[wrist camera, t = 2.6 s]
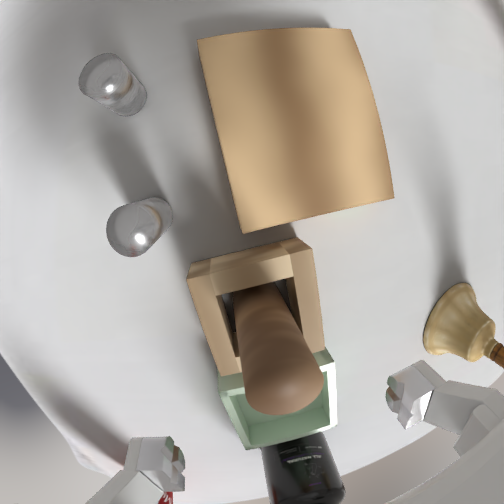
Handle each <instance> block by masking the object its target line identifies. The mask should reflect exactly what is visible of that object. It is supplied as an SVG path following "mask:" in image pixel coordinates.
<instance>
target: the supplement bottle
mask: <svg viewBox="0 0 504 504" xmlns="http://www.w3.org/2000/svg"><path fill="white" fill-rule="evenodd" d="M261 452H262V459H263V465H264V471H265V477H266V483H267V489H268V494H269V499H270V504H341V502H342V501H343V500H344V497H345V493H346V491H345V488H344V485H343V482H342V480H341V477H340V475H339V472H338V469H337V467H336V464H335V462H334V459H333V457H332V454H331V451H330V449H329V446H328V444H327V441H326V439H325V436H324V434H323V432H322V431H321V432H318V433H315V434H311V435H308V436H305V437H301V438H298V439H294V440H290V441H286V442H282V443H278V444H274V445H270V446H265V447H261Z"/></svg>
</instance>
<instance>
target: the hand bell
mask: <svg viewBox="0 0 504 504" xmlns="http://www.w3.org/2000/svg"><path fill="white" fill-rule="evenodd" d="M494 335H495V323H494V321H493V320H492V319H490V318H489V317H488V316H487V315H486V314H485V313H484V312H483V311H482V310H481V309H480V307H479V306H478V304H477V302H476V296H475V293H474V290H473V289H472V287H471V286H470V285H469V284H467V283H459V284H456V285H454V286H453V287H451V288H450V289H449V290H448V291H447V292H445V294H444V295H443V296H442V297H441V298H440V299H439V301H438V302H437V304H436V305H435V307H434V309H433V310H432V312H431V314H430V316H429V318H428V321H427V324H426V327H425V331H424V337H423V342H424V347H425V349H426V351H427V352H428V353H430V354H433V355H442V354H445V353H452V354H456V355H458V356H460V357H462V358H464V359H466V360H467V361H469V362H475V361H477V360H479V359H480V358H481V357H482V356H483V355H485V356H486V357H487V358H490V359H491V360H492V361H495V363H497V364H498V365H500V366H501V367H502V368H504V347H503V345H502V344H501V343H498V342H497V341H496V340H495V339H494Z"/></svg>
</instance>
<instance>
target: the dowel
mask: <svg viewBox="0 0 504 504" xmlns="http://www.w3.org/2000/svg"><path fill="white" fill-rule="evenodd" d="M233 308H234V316H235V324H236V331H237V339H238V346H239V354H240V361H241V368H242V375H243V382H244V389H245V396H246V400H247V402H248V404H249V405H250V406H251V407H252V408H253V409H255V410H256V411H258V412H261V413H263V414H268V415H284V414H289V413H293V412H296V411H298V410H301V409H303V408H304V407H306V406H308V405H309V404H310V403H312V402H313V401H314V400H315V399H316V398H317V397H318V395H319V394H320V392H321V390H322V388H323V384H324V376H323V373H322V371H321V369H320V367H319V365H318V364H317V362H316V360H315V358H314V356H313V354H312V352H311V350H310V348H309V346H308V345H307V343H306V341H305V339H304V337H303V335H302V333H301V331H300V330H299V328H298V326H297V324H296V322H295V320H294V318H293V316H292V314H291V313H290V311H289V309H288V307H287V305H286V303H285V301H284V299H283V298H282V296H281V294H280V292H279V290H278V288H277V286H276V285H275V284H274V283H273V282H270V283H266V284H262V285H258V286H254V287H250V288H246V289H242V290H238V291H234V293H233Z"/></svg>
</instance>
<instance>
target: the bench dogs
mask: <svg viewBox="0 0 504 504" xmlns="http://www.w3.org/2000/svg"><path fill="white" fill-rule="evenodd" d="M79 87H80V90H81V91H82V92H83V93H84V94H85V95H87V96H89V97H90V98H92V99H94V100H95V101H97V102H99V103H100V104H102V105H104V106H105V107H107V108H109V109H110V110H112V111H114V112H115V113H117V114H119V115H121V116H131V115H134V114H136V113H137V112H139V111H140V110H141V109H142V108H143V106H144V105H145V102H146V99H147V92H146V90H145V88H144V87H143V86H142V84H141V83H140V82H139V81H138V80H137V78H136V77H135V76H134V75H133V74H132V72H131V71H130V70H129V69H128V68H127V66H126V65H125V64H124V63H123V62H122V61H121V59H120V58H119V57H118V56H116V55H115V54H111V53H106V54H101V55H99V56H97V57H95V58H93V59H92V60H91V61H89V62H88V63H87V64H86V66H85V67H84V68H83V70H82V72H81V74H80V77H79ZM172 220H173V213H172V209H171V207H170V205H169V204H168V203H167V202H166V201H165V200H163V199H161V198H157V197H152V198H148V199H144V200H141V201H137V202H134V203H130V204H127V205H123V206H121V207H119V208H117V209H116V210H114V212H113V213H112V214H111V215H110V217H109V219H108V222H107V227H106V233H107V238H108V241H109V243H110V245H111V246H112V247H113V249H114V250H115V251H116V252H118V253H119V254H121V255H123V256H127V257H136V256H139V255H142V254H143V253H145V252H146V251H147V250H148V249H149V248H150V247H151V246H152V245H153V244H154V243H155V242H156V241H157V240H158V239H159V238H160V237H161V236H162V235H163V234H164V233H165V232H166V231H167V230H168V229H169V227H170V226H171V224H172Z"/></svg>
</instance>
